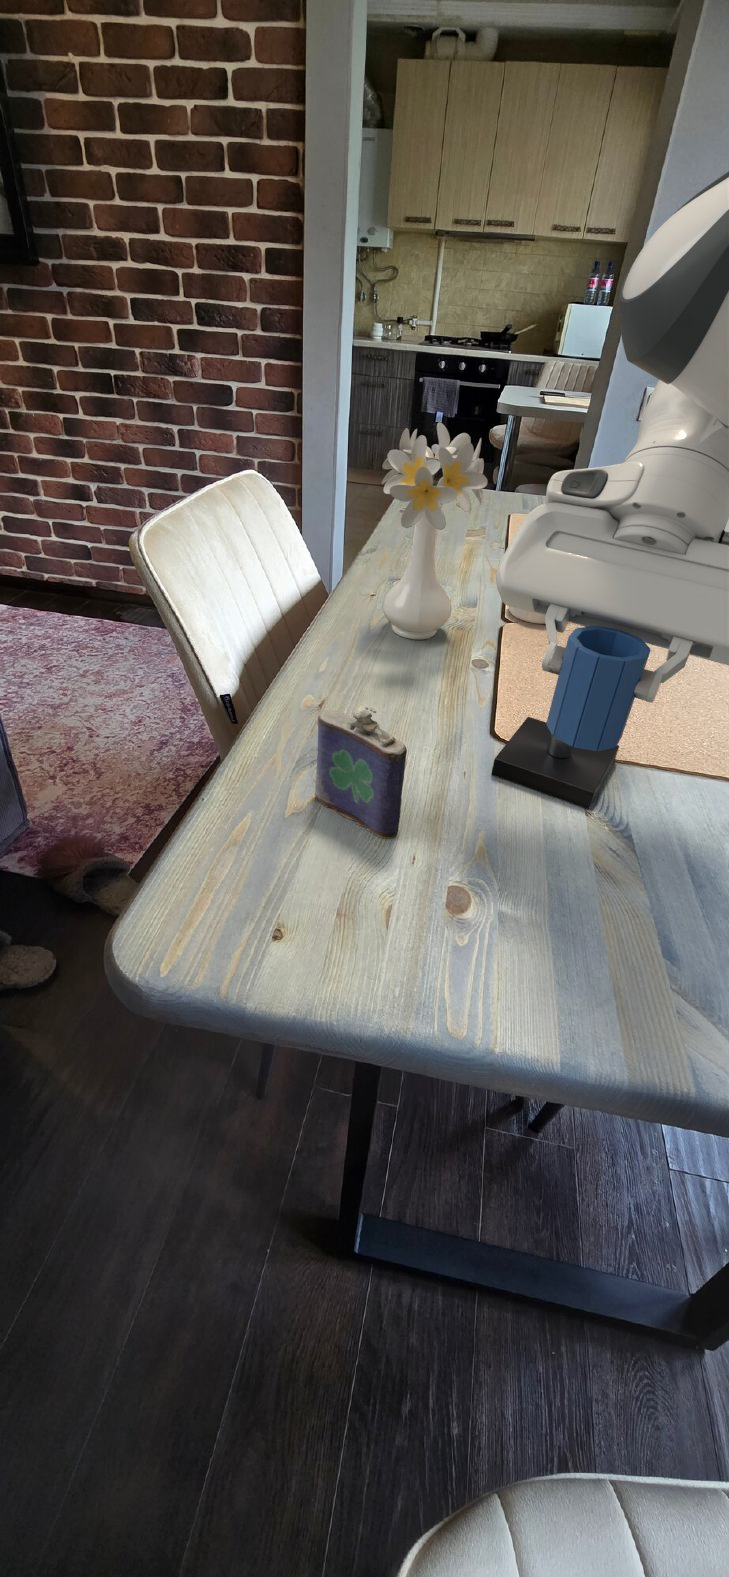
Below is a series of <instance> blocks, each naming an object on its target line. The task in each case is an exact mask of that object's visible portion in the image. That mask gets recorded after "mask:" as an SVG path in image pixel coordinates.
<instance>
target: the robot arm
mask: <svg viewBox="0 0 729 1577" xmlns="http://www.w3.org/2000/svg"><path fill="white" fill-rule="evenodd" d="M618 295H619V296H618V316H619V317H618V320H619V329H620V338H621V341H622V347H623V350H624V354H625V358H626V360H627V361H628V362H629V363H631V364H632V365H634V366H636V367H637V368H638V369H641V370H642V371H644V372H646V373H648V375H651V376H653V377H654V378H655V379H658V380H657V383H656V385H655V387H654V389H653V391H652V393H651V395H650V397H649V400H648V403H647V404H646V406H645V409H644V411H643V414H642V416H641V419H640V421H639V427H638V436H637V441H636V444H635V445H634V447H633V448H632V449H631V451H630V452H629V453H628V454H627V456H626V457H625V458H624V460H623V462H621V463H616V464H611V465H605V466H597V467H590V468H589V467H588V468H577V469H567V470H560V471H557V472H555V473H553V474H552V476H551V477H550V479H549V480H548V483H547V487H546V493H545V503H542V504H540V505H538V506H537V507H535V508H533V509H532V510H531V511H530V512H529V513H528V514H527V515H526V516H525V518H524V519H523V520H522V522H521V523H520V525H519V527H518V529H517V530H516V532H515V533H514V535H513V537H512V539H511V541H510V542H509V544H508V545H507V548H506V550H505V552H504V554H503V556H502V558H501V560H500V562H499V565H498V567H497V570H496V573H495V584H496V588H497V591H498V595H499V596H500V599H501V601H502V603H503V604H504V605H506V606H511V607H514V608H518V609H522V610H526V611H529V612H533V613H537V614H540V615H544V616H545V623H546V624H545V630H546V635H547V641H548V647H547V648H546V650H545V654H544V656H543V658H542V661H541V669H542V671H544V672H547V673H550V674H553V675H556V676H559V672H560V670H561V666H562V660H563V657H564V653H565V649H566V645H562V644H559V638H558V633H561V634H563V633H564V632H565V630H566V628H567V626H568V624H569V623H570V624H575V625H577V626H581V627H589V626H600V627H607V628H614V629H618V630H622V631H624V632H627V633H629V634H632V635H634V636H637V637H639V638H640V639H642V640H643V641H644V642H645V643H646V644H647V645H648V644H649V645H651V646H655V647H659V648H662V649H667V655H666V659H665V662H663V663H662V664H661V665H660V666H659V667H658V668H656V669H655V670H654V671H653V670H649V669H646V668H645V669H643V671H642V674H641V676H640V680H639V682H638V683H637V684H636V687H635V689H634V697H635V699H638V700H641V701H644V702H647V703H651V704H653V703H654V702H655V699H656V697H657V695H658V692H659V689H660V687H661V684H664V683H666V682H667V681H668V680H669V679H671V678H673V676H675V675H676V674H678V673H679V672H680V671H682V669H684V668H685V667H686V664H687V662H688V660H689V657H690V656H692V657H695V658H699V659H703V660H706V661H711V662H714V663H717V664H721V665H725V666H729V531H726V527H727V524H728V521H729V171H727V172H725V173H724V174H722V175H721V176H720V177H718V178H717V179H715V180H714V181H713V182H711V183H710V184H709V185H707V186H705V187H704V188H703V189H701V190H700V191H699V192H697V193H696V194H695V195H693V196H692V197H691V198H690V199H689V200H687V201H686V202H685V203H684V204H683V205H681V206H680V207H679V208H677V210H676V211H675V212H674V213H672V215H671V216H670V217H669V218H668V219H667V220H666V221H665V222H663V223H662V225H660V227H658V228H657V230H656V231H655V232H653V234H652V236H650V238H649V239H648V240H647V242H646V243H645V244H644V246H643V247H642V249H641V250H640V252H639V253H638V254H637V257H636V258H635V260H634V261H633V263H632V265H631V266H630V267H629V270H628V271H627V273H626V275H625V277H624V279H623V281H622V284H621V286H620V290H619V294H618Z"/></svg>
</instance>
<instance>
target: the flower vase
mask: <svg viewBox="0 0 729 1577" xmlns="http://www.w3.org/2000/svg"><path fill="white" fill-rule="evenodd" d="M417 433H418V428H416V429H414V431H413V432H412V434H411V437H410V430H409V428H407V427H406V428H405V429H404V430H403V432H402V434H401V437H400V440H399V449H391V450H389V451H388V453H387V458H386V459H385V460H384V461H383V463H382V466H381V468H382V469H383V470H390V471H388V472H387V473H386V475H385V476H384V478H383V479H382V481H381V485H384V486H383V493H384V494H386V495H390V496H391V497H392V498H394V499H395V500H396V501H400V502H403V503H408V502H409V503H408V504H407V505H406V506H405V508H404V510H403V511H402V514H401V517H400V525H401V527H403V528H404V529H409V528H412V527H413V526H414V527H413V534H412V535H413V537H412V542H411V548H410V554H409V558H408V562H407V566H406V568H405V570H404V572H403V574H402V576H401V577H400V579H399V580H398V581H397V582H395V583H394V584H393V585H392V586H391V587H390V588H389V589H388V590H387V591H386V593H385V594H384V597H383V600H382V604H381V610H382V612H383V615H384V617H385V618H386V620H387V621H388V622H389V623H390V624H391V630H392V631H393V632H394V634H396V635H397V636H399V637H401V638H404V639H408V640H414V641H415V640H418V641H420V640H428V639H431V638H433V637H434V636H436V635H437V632H438V629H440V628H441V627H443V626H444V625H445V624H446V623H447V622H448V620H449V619H450V618H451V616H452V611H453V610H452V608H453V607H452V602H451V599H450V597H449V595H448V593H447V591H446V590H445V589H444V588H443V587H442V585H441V583H440V580H439V577H438V574H437V568H436V553H437V541H438V531H443V530H445V529H446V526H447V520H446V517H445V514H444V512H443V510H442V509H443V505H445V504H449V503H452V502H454V500H456V502H457V504H458V506H459V508H460V509H461V510H462V511H463V512H465V513H468V512H470V511H471V509H472V500H471V496H470V493H469V491H468V490H471V491H472V492H473V494H474V496H475V497H476V499H477V501H478V503H479V504H480V505H482V504H484V503H485V502H484V501H485V496H484V492H483V489H484V488H485V487H487V486H488V478H487V477H486V476H485V474H484V467H485V463H484V462H485V461H484V458H480V453H481V448H482V447H481V446H482V437H480V438H479V441H478V443H477V445H476V448H475V450H474V446H473V444H472V442H471V440H472V439H471V436H470V435H469V434H468V433H466V432H462V433H460V434H458V435H457V436H455V437H454V438H453V440H451V437H450V433H449V430H448V428H447V427H446V426H445V424H443V423H442V422H437V424H436V433H437V438H438V444H437V443H435V444H433V445H431V448H430V447H429V446H428V441H427V437H426V436H425V435H422V434H421V435H419V436H418V437H417V435H418V434H417ZM440 469H441V470H442V477H441V478H439V480H435V474H437V473H438V472H439V470H440Z"/></svg>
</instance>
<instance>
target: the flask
mask: <svg viewBox="0 0 729 1577" xmlns="http://www.w3.org/2000/svg"><path fill="white" fill-rule="evenodd" d="M368 710H369V711H368ZM372 713H374V714H376V713H377V710H376V708H375V707H367V706H365V707H364V709H362V710H360V711H359V712H355V711H354V712H353V713H352V715H350V714H349V715H348V714H347V713H344V712H341V711H338V710H325V711H322V712H321V713H320V714H318V715H319V716H318V717H317V749H316V750H317V756H316V775H315V786H314V788H315V789H314V797H315V799H316V800H317V801H318V802H319V803H320V804H321V805H322V806H324V807H325V808H330V809H332V810H333V811H335V812H336V813H337V814H338V815H340V816H341V817H342V818H345V819H346V820H351V821H355V822H356V824H357V826H362V827H364V828H365V829H366V831H367V832H370V833H372V834H374V835H375V836H376V837H377V838H382V839H390V840H392V839H393V838H394V837H396V836H397V835H398V833H399V827H400V820H401V810H402V796H403V787H404V781H405V769H406V761H407V755H408V754H407V752H408V749H407V747H406V745H405V744H404V743H403V742H402V741H400V740H399V739H398V738H396V737H394V736H393V735H391V734H390V733H388V732H387V731H385V730H383V729H382V728H380V727H381V725H380V724H379V723H378V721H377V720H376V721H375V720H373V719H372V717H373V714H372Z"/></svg>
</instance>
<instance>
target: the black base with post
mask: <svg viewBox="0 0 729 1577" xmlns="http://www.w3.org/2000/svg"><path fill="white" fill-rule="evenodd" d="M546 723H547V721H543V720H540V719H538V718H534V717H531V716H527V717H526V718H525V720H524V721H523V722H522V723H521V725H519V727H518V728H517V730H516V731H515V732H514V733H513V735H512V736H511V737H510V738H509V740H508V741H507V742H506V744H504V746H503V747H502V748H501V750H500V751H499V752H498V754H496V756H495V758H494V759H493V764H492V769H491V776H494V777H497V778H499V779H502V780H505V781H507V782H511V783H513V784H516V785H519V786H522V787H525V788H527V789H530V790H533V791H536V792H539V793H541V794H544V795H546V796H550V797H553V798H555V799H558V800H562V801H564V802H567V803H569V804H572V805H575V806H578V807H580V808H583V809H587V810H589V809H590V808H591V807H592V804H593V803H594V801H595V799H596V797H597V796H598V793H599V791H600V790H601V788H602V787H603V786H602V785H604V782H605V780H606V778H607V776H608V774H609V773H610V771H611V769H612V767H613V766H614V763H615V761H616V758H617V756H618V752H619V749H620V745H619V744H618V745H617V746H616V747H614V748H610V749H606V750H601V751H597V750H596V751H592V750H587V749H581V748H575V747H574V746H573V747H572V746H570V745H568V744H566V743H564V742H562V741H560V740H559V739H557V738H555V737H554V736H553V735H552V734H551V732H550V730H549V728H548V727H547V725H546Z"/></svg>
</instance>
